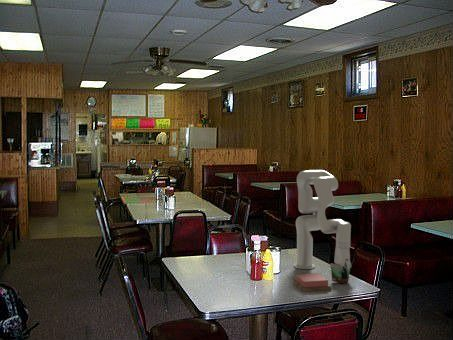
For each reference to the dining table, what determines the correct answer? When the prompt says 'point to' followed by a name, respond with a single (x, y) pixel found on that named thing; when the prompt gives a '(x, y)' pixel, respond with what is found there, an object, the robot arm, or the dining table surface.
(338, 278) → the food container
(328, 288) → the walnut slab
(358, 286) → the dining table surface
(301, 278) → the pink square slab
